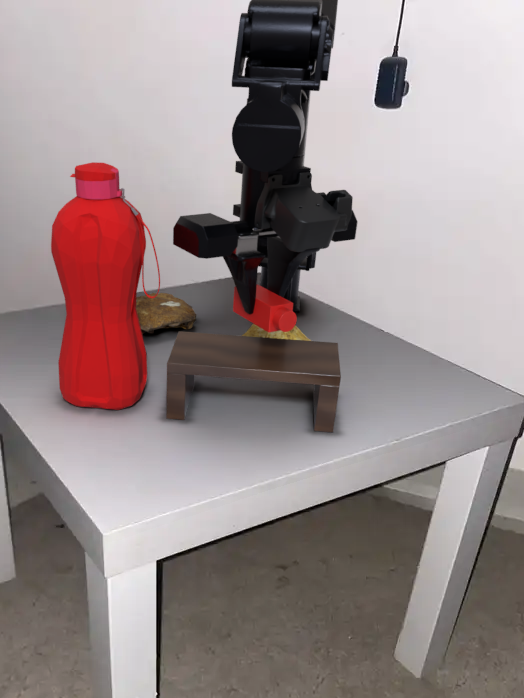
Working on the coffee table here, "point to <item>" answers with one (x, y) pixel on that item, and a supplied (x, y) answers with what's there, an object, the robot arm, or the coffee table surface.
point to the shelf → (254, 368)
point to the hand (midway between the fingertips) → (261, 311)
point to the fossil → (276, 333)
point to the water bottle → (100, 291)
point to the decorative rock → (163, 312)
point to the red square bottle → (268, 311)
